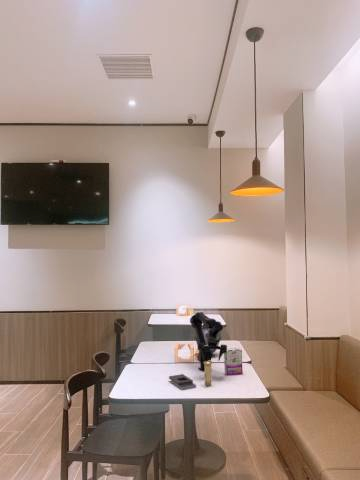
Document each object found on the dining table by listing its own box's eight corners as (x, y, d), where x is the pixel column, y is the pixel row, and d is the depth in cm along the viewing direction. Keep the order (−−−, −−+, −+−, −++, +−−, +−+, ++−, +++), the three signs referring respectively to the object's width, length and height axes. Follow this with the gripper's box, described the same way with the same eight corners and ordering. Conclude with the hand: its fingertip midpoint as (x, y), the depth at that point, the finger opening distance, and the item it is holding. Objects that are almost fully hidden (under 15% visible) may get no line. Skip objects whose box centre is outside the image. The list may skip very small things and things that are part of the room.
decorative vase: (193, 358, 276) (193, 322, 279) (195, 353, 295) (195, 318, 297) (221, 359, 274) (220, 322, 276) (221, 354, 292) (221, 319, 294)
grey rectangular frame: (169, 381, 225) (169, 376, 225) (182, 378, 229) (182, 374, 229) (181, 390, 208) (181, 385, 208) (196, 387, 212) (196, 382, 212)
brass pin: (202, 384, 217) (202, 361, 218) (209, 383, 219) (209, 360, 220) (206, 387, 213) (206, 363, 214) (213, 386, 215) (213, 362, 216)
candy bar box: (240, 372, 241) (239, 347, 242) (242, 374, 236) (242, 349, 237) (224, 373, 239) (223, 348, 240) (226, 375, 234) (226, 350, 235)
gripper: (198, 330, 230) (196, 353, 220) (227, 332, 227) (226, 356, 217) (198, 338, 238) (196, 361, 228) (227, 340, 236) (226, 363, 226)
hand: (211, 360), depth 224 cm, fingers open, 9 cm apart
